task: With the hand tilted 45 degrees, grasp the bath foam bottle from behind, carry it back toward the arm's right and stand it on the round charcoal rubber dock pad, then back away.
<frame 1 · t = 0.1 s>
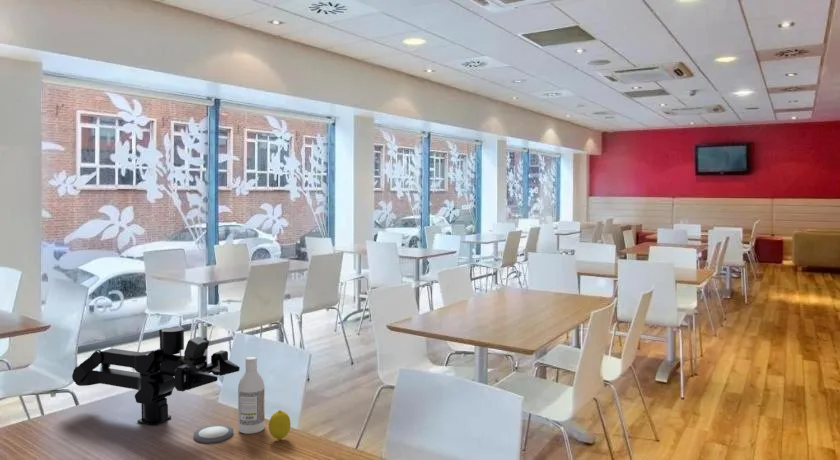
hand: (228, 373, 161), 17 cm above the table, tool horizontal, fingers open, 9 cm apart
lemon: (279, 440, 159), on the table
bath foam: (251, 430, 165), on the table
dock pad: (213, 435, 161), on the table
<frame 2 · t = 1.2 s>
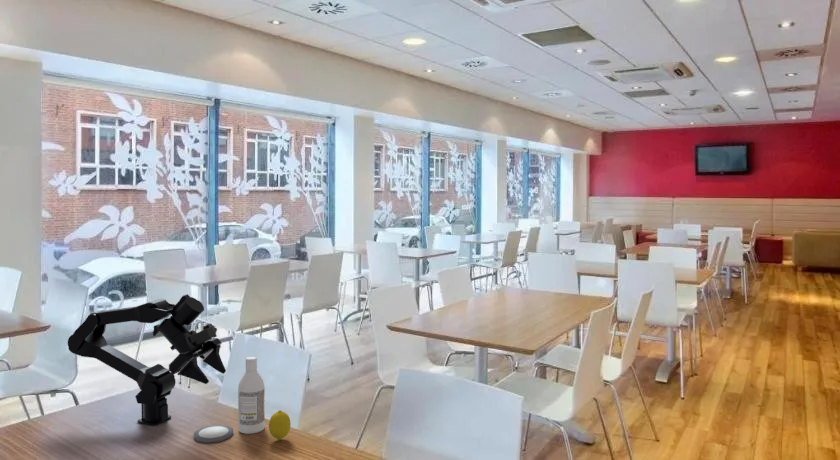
hand: (216, 377, 166), 14 cm above the table, tool tilted 45°, fingers open, 9 cm apart
nothing on the table moved.
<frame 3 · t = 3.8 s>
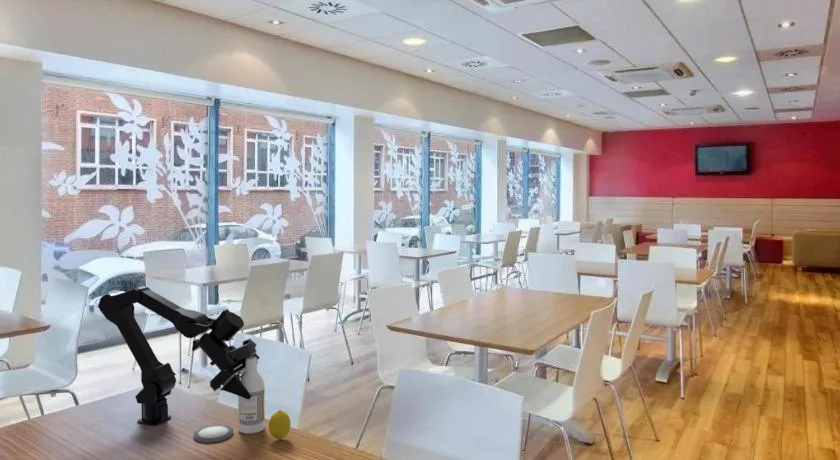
hand: (256, 393, 164), 10 cm above the table, tool tilted 45°, fingers closed on bath foam, 7 cm apart
bath foam: (251, 430, 165), on the table, touching gripper
everything else where it was.
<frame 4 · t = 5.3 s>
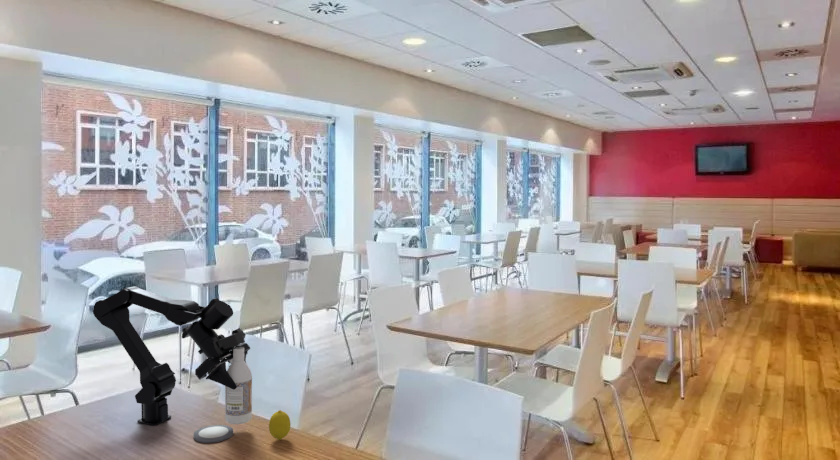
hand: (243, 384, 162), 13 cm above the table, tool tilted 45°, fingers closed on bath foam, 7 cm apart
bath foam: (238, 420, 164), point 3 cm above the table, touching gripper
everything else where it was.
when the fingers open (12 cm above the table, at t = 6.9 s): bath foam stays where it is, resting on dock pad.
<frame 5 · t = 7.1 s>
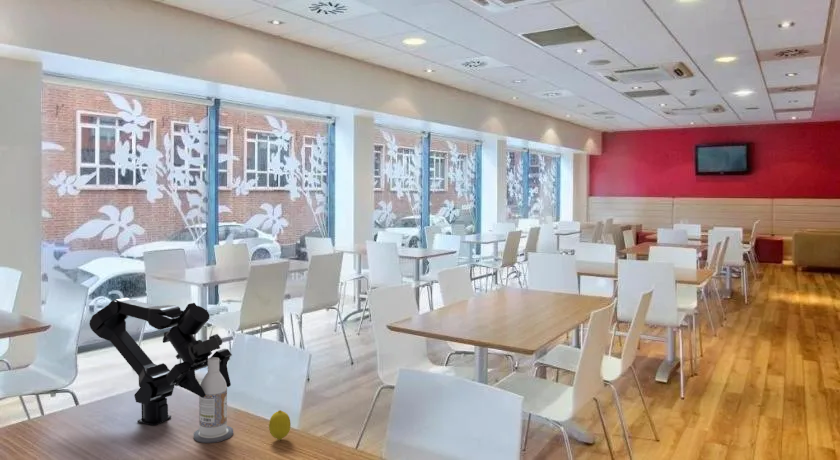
hand: (217, 391, 160), 12 cm above the table, tool tilted 45°, fingers open, 9 cm apart
bath foam: (213, 432, 161), point 1 cm above the table, touching dock pad
everything else where it was.
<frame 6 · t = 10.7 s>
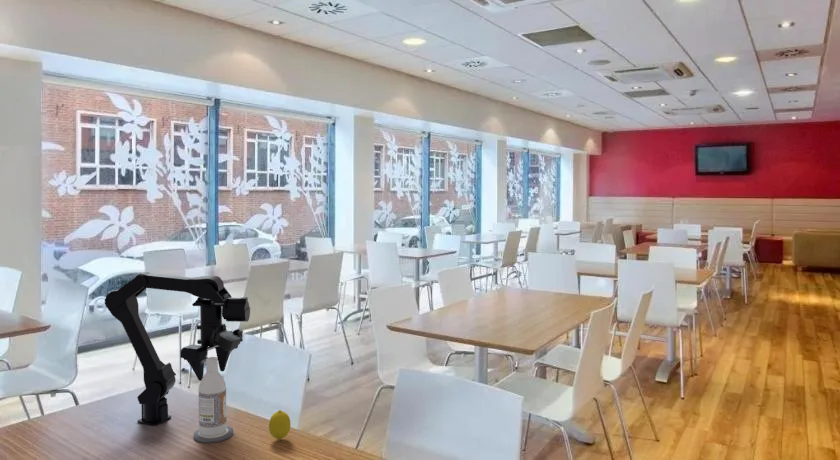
hand: (211, 375, 170), 13 cm above the table, tool pointing down, fingers open, 9 cm apart
nothing on the table moved.
at the end: bath foam 0.2 cm from the dock pad (horizontally); bath foam tilted 0°; the gripper is holding nothing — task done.
